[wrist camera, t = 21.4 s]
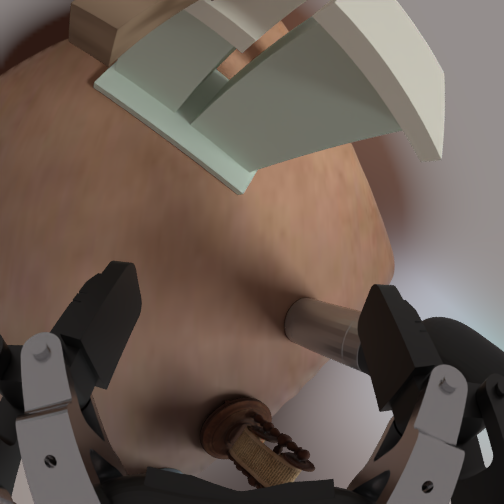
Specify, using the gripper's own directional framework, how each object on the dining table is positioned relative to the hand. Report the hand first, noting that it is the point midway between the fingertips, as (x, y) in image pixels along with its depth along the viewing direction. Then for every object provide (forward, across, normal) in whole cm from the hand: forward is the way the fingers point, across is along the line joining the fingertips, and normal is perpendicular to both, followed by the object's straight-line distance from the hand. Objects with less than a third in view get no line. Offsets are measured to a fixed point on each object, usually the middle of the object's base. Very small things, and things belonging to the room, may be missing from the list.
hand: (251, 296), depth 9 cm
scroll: (+16, +1, +46) cm, 49 cm away
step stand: (+38, +11, -5) cm, 40 cm away
